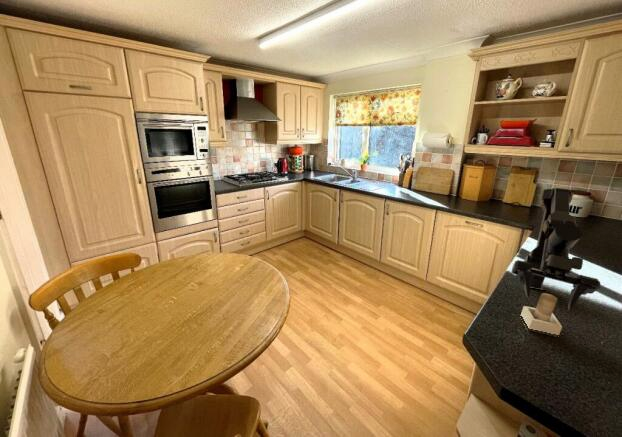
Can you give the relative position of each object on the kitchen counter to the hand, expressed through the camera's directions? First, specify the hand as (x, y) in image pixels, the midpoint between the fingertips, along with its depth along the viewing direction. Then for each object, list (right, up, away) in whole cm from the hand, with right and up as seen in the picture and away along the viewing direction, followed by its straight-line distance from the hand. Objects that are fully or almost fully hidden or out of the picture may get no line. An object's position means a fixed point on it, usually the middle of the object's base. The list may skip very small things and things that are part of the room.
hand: (548, 303), depth 76 cm
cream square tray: (+1, -8, +4) cm, 9 cm away
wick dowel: (+1, -8, +4) cm, 9 cm away
